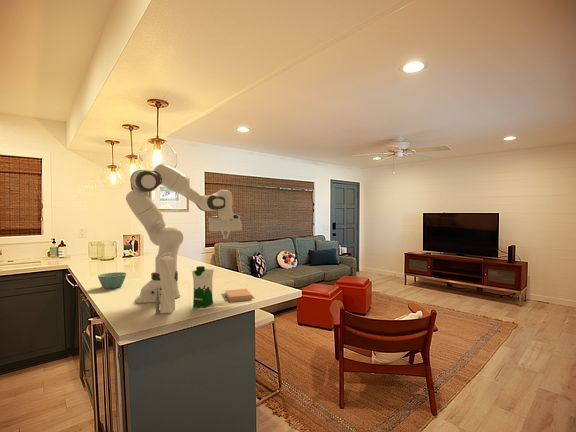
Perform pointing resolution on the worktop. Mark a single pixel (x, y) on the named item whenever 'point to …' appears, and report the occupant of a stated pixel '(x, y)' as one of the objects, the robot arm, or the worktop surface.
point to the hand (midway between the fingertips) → (225, 238)
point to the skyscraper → (166, 285)
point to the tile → (238, 295)
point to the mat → (227, 299)
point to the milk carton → (202, 287)
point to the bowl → (112, 279)
